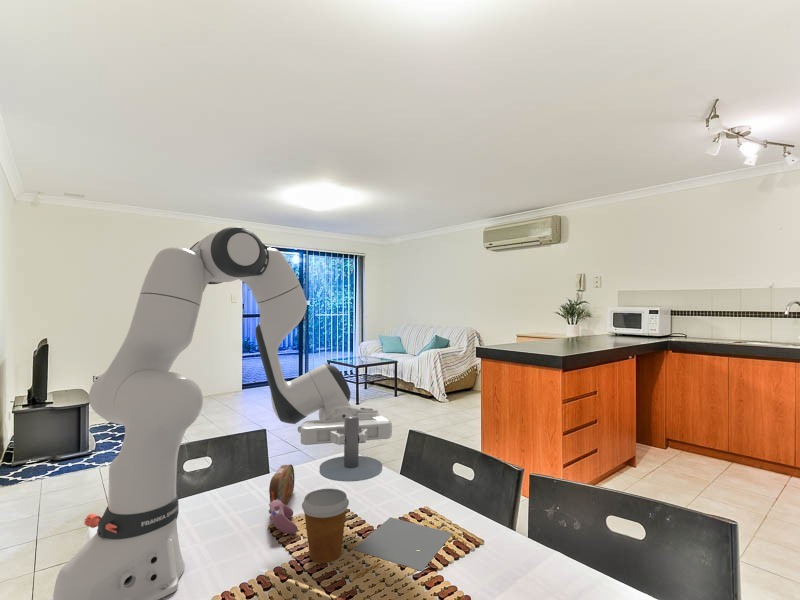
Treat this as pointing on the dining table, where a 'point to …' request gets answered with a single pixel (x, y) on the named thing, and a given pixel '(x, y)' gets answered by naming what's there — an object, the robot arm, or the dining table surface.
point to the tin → (282, 484)
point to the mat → (404, 543)
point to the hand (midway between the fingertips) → (352, 440)
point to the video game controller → (282, 517)
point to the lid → (351, 458)
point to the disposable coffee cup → (325, 523)
